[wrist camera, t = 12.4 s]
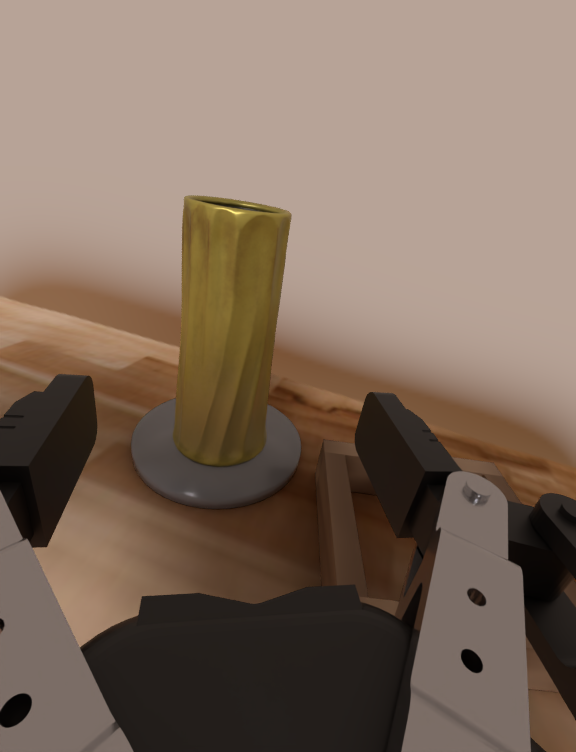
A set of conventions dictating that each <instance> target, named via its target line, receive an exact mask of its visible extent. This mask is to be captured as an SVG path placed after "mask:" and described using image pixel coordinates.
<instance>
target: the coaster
mask: <svg viewBox="0 0 576 752" xmlns="http://www.w3.org/2000/svg"><path fill="white" fill-rule="evenodd" d="M175 406H176V398H175V399H172V400H169V401H167V402H165V403H162V404H161V405H159V406H157V407H155V408H154V409H152V410H151V411H150V412H148V413H147V414H146V415H145V416H144V417H143V418H142V419H141V420H140V422H139V423H138V424H137V426H136V428H135V430H134V432H133V435H132V441H131V450H132V460H133V465H134V467H135V470H136V472H137V473H138V475H139V477H140V478H141V479H142V480H143V481H144V483H145V484H146V485H147V486H149V487H150V488H151V489H152V490H153V491H155V492H156V493H158V494H160V495H161V496H163V497H165V498H167V499H170V500H172V501H174V502H177V503H181V504H184V505H187V506H192V507H198V508H208V509H228V508H235V507H241V506H246V505H250V504H253V503H256V502H259V501H261V500H264V499H266V498H268V497H270V496H272V495H273V494H275V493H276V492H278V491H279V490H281V489H282V488H283V487H284V486H285V485H286V484H287V483H288V482H289V481H290V479H291V478H292V477H293V475H294V473H295V471H296V469H297V466H298V463H299V458H300V454H301V440H300V437H299V434H298V432H297V430H296V428H295V426H294V425H293V424H292V422H291V421H290V420H289V419H288V418H287V417H286V416H285V415H284V414H282V413H281V412H280V411H278V410H277V409H275V408H274V407H272V406H270V405H268V404H267V415H266V434H267V439H266V444H265V446H264V448H263V450H262V451H261V452H260V453H259V454H258V455H257V456H256V457H254V458H253V459H251V460H249V461H247V462H244V463H240V464H237V465H232V466H224V467H217V466H209V465H204V464H200V463H197V462H195V461H192V460H190V459H189V458H187V457H186V456H184V455H183V454H182V453H181V452H180V451H179V450H178V449H177V447H176V445H175V443H174V440H173V430H174V425H175Z"/></svg>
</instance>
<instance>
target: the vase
mask: <svg viewBox="0 0 576 752" xmlns="http://www.w3.org/2000/svg"><path fill="white" fill-rule="evenodd" d="M290 222H291V213H290V212H289V211H286V210H283V209H280V208H276V207H271V206H267V205H262V204H257V203H251V202H246V201H239V200H233V199H224V198H218V197H207V196H185V197H184V209H183V224H182V309H181V310H182V311H181V312H182V313H181V339H180V354H179V367H178V379H177V392H176V406H175V425H174V430H173V440H174V443H175V445H176V447H177V449H178V450H179V451H180V452H181V453H182V454H183V455H184V456H186V457H187V458H189V459H190V460H192V461H195V462H197V463H200V464H204V465H209V466H217V467H224V466H232V465H237V464H240V463H244V462H247V461H249V460H251V459H253V458H254V457H256V456H257V455H258V454H259V453H260V452H261V451H262V450H263V448H264V446H265V444H266V439H267V434H266V415H267V404H268V394H269V386H270V376H271V366H272V356H273V349H274V342H275V332H276V324H277V317H278V311H279V304H280V297H281V289H282V282H283V274H284V267H285V259H286V249H287V242H288V235H289V229H290Z"/></svg>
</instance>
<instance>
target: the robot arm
mask: <svg viewBox="0 0 576 752" xmlns="http://www.w3.org/2000/svg"><path fill="white" fill-rule="evenodd" d="M96 435H97V417H96V407H95V398H94V389H93V382H92V378H91V377H90V376H84V375H66V374H58V375H57V376H56V377H55V378H54V379H53V381H52V382H51V383H50V384H49V386H48V387H47V388H46V389H45V391H44V392H37V391H34V392H32V393H30V394H29V395H27V396H25V397H23V398H22V399H20V400H18V401H16V402H15V403H14V404H13V405H12V406H11V408H10V409H9V410H8V411H7V412H6V413H5V414H4V418H1V419H0V752H546V751H545V750H544V749H542V748H541V747H540V746H539V745H538V744H537V743H536V742H535V741H534V740H533V739H532V738H531V737H530V723H529V701H528V680H527V658H526V637H527V639H528V640H529V642H530V644H531V645H532V647H533V649H534V650H535V652H536V654H537V656H538V657H539V659H540V661H541V662H542V664H543V666H544V667H545V669H546V671H547V672H548V674H549V676H550V677H551V679H552V681H553V683H554V684H555V686H556V688H557V689H558V691H559V693H560V694H561V696H562V698H563V699H564V701H565V703H566V704H567V706H568V708H569V710H570V711H571V713H572V715H573V716H574V718H575V720H576V607H575V605H574V604H573V603H572V601H571V600H570V599H569V597H568V596H567V595H566V593H565V592H564V590H565V589H566V587H567V586H568V585H569V584H570V582H571V581H572V580H573V579H574V578H575V579H576V501H575V500H573V499H571V498H569V497H566V496H563V495H559V494H554V493H547V494H544V495H542V496H541V498H540V499H539V501H538V502H537V504H536V505H535V507H532V506H528V505H524V504H520V503H516V502H512V501H508V500H506V497H505V496H504V494H503V493H502V492H501V491H500V490H499V489H498V488H497V487H496V486H495V485H494V484H493V483H491V482H490V481H488V480H487V479H485V478H483V477H481V476H479V475H476V474H473V473H470V472H464V471H462V470H461V468H460V467H459V466H458V465H457V463H456V462H455V461H454V459H453V458H452V457H451V456H450V454H449V453H448V452H447V450H446V449H445V448H444V447H443V445H442V444H441V443H440V442H438V439H437V438H436V436H435V435H434V434H433V433H431V430H430V429H429V428H428V426H427V425H426V424H425V422H424V421H423V420H422V419H421V418H419V417H418V416H417V415H415V414H414V413H413V412H411V411H410V410H408V409H405V407H404V406H403V405H402V403H401V402H400V401H399V399H398V398H397V397H396V395H395V394H393V393H376V392H370V393H369V394H367V396H366V399H365V402H364V405H363V408H362V412H361V415H360V419H359V422H358V425H357V429H356V433H355V448H356V451H357V454H358V456H359V458H360V460H361V462H362V464H363V466H364V469H365V471H366V473H367V475H368V477H369V479H370V481H371V484H372V486H373V488H374V490H375V492H376V494H377V497H378V499H379V501H380V503H381V505H382V507H383V509H384V512H385V514H386V516H387V518H388V520H389V522H390V524H391V527H392V529H393V531H394V533H395V535H396V537H397V538H414V539H415V541H416V543H417V544H416V546H415V548H414V550H413V553H412V556H411V560H410V564H409V567H408V571H407V575H406V578H405V582H404V585H403V589H402V593H401V596H400V600H399V603H398V607H397V610H396V613H395V616H394V615H392V614H390V613H389V612H386V611H384V610H382V609H380V608H378V607H375V606H372V605H370V604H367V603H363V602H360V598H359V595H358V592H357V589H356V586H355V584H353V585H335V586H318V587H306V588H303V589H300V590H297V591H294V592H291V593H289V594H286V595H283V596H280V597H277V598H274V599H271V600H268V601H265V602H262V603H259V604H250V603H245V602H240V601H235V600H230V599H225V598H220V597H215V596H210V595H206V594H201V593H193V594H176V595H158V596H142V599H141V605H140V610H139V615H138V616H136V617H133V618H130V619H127V620H125V621H123V622H121V623H118V624H116V625H114V626H112V627H110V628H108V629H107V630H105V631H103V632H102V633H100V634H98V635H97V636H95V637H94V638H92V639H91V640H90V641H88V642H87V643H85V644H84V645H83V646H81V647H79V645H78V643H77V641H76V639H75V637H74V635H73V633H72V630H71V628H70V626H69V624H68V622H67V620H66V618H65V616H64V614H63V612H62V609H61V607H60V605H59V603H58V601H57V599H56V597H55V595H54V593H53V591H52V588H51V586H50V584H49V582H48V580H47V578H46V576H45V574H44V572H43V570H42V567H41V565H40V563H39V561H38V559H37V557H36V555H35V553H34V551H33V549H32V548H33V547H47V546H48V543H49V541H50V539H51V537H52V535H53V533H54V530H55V528H56V526H57V524H58V522H59V520H60V518H61V515H62V513H63V511H64V509H65V507H66V505H67V502H68V500H69V498H70V496H71V494H72V492H73V489H74V487H75V485H76V483H77V481H78V479H79V476H80V474H81V472H82V470H83V468H84V466H85V463H86V461H87V459H88V457H89V455H90V453H91V451H92V448H93V446H94V444H95V440H96ZM525 635H526V636H525Z"/></svg>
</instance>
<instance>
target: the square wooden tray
mask: <svg viewBox="0 0 576 752" xmlns="http://www.w3.org/2000/svg"><path fill="white" fill-rule="evenodd" d="M452 458H453V459H454V461H455V462H456V463H457V465H458V466H459V467H460V468H461V470H462V471H464V472H470V473H473V474H476V475H479V476H481V477H483V478H485V479H487V480H488V481H490V482H491V483H493V484H494V485H495V486H496V487H497V488H498V489H499V490H500V491H501V492H502V493H503V494H504V496H505V497H506V500H508V501H512V502H516V503H520V504H521V502H520V501H519V499H518V498H517V496H516V495H515V493H514V492H513V490H512V489H511V487H510V486H509V485H508V483H507V482H506V480H505V479H504V477H503V476H502V474H501V473H500V471H499V470H498V469H497V467H496V466H495V464H494V463H491V462H483V461H476V460H469V459H462V458H454V457H452ZM315 479H316V498H317V516H318V534H319V552H320V570H321V586H335V585H353V584H355V586H356V589H357V592H358V595H359V598H360V602H363V603H367V604H370V605H372V606H375V607H378V608H380V609H382V610H384V611H386V612H389V613H390V614H392V615H394V616H395V613H396V610H397V607H398V603H399V601H393V600H384V599H376V598H368V592H367V586H366V580H365V574H364V568H363V562H362V556H361V550H360V544H359V538H358V532H357V526H356V520H355V514H354V508H353V502H352V496H351V492H358V493H366V494H373V495H377V494H376V492H375V490H374V488H373V486H372V484H371V481H370V479H369V477H368V475H367V473H366V471H365V469H364V466H363V464H362V462H361V460H360V458H359V456H358V454H357V451H356V448H355V444H353V443H346V442H339V441H331V440H324V439H323V443H322V448H321V452H320V456H319V460H318V464H317V468H316V472H315ZM564 592H565V593H566V595H567V596H568V597H569V599H570V600H571V601H572V603H573V604H574V605H575V607H576V582H575V581H574V579H573V580H572V581H571V582H570V584H569V585H568V586H567V587H566V589H565V590H564ZM525 636H526V635H525ZM526 658H527V680H528V689H534V690H543V691H552V692H559V691H558V689H557V688H556V686H555V684H554V683H553V681H552V679H551V677H550V676H549V674H548V672H547V671H546V669H545V667H544V666H543V664H542V662H541V661H540V659H539V657H538V656H537V654H536V652H535V650H534V649H533V647H532V645H531V644H530V642H529V640H528V639H527V637H526Z"/></svg>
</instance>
